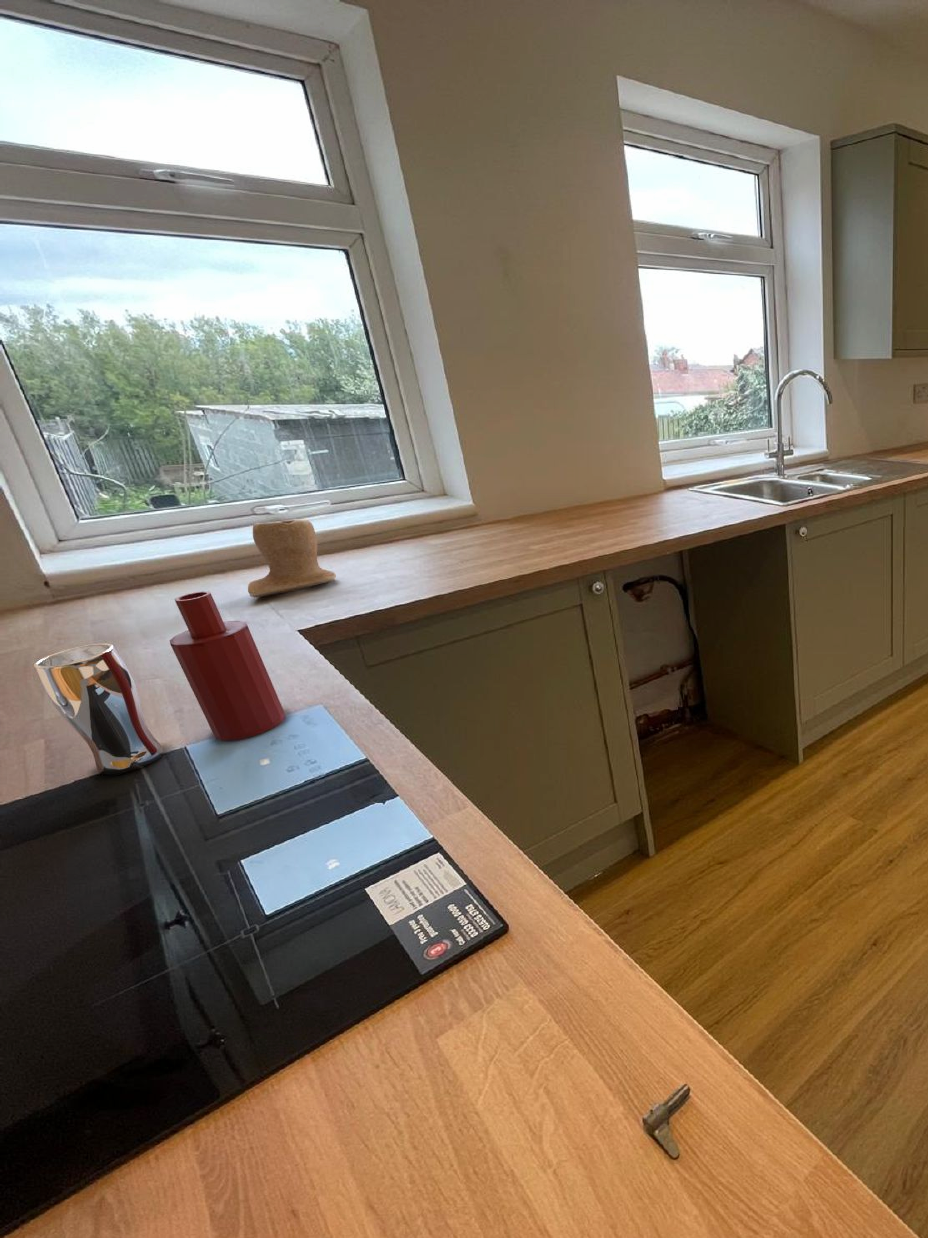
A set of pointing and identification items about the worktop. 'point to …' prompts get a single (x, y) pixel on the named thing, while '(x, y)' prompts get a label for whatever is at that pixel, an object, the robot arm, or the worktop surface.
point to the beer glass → (100, 706)
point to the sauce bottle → (225, 671)
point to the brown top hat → (287, 557)
